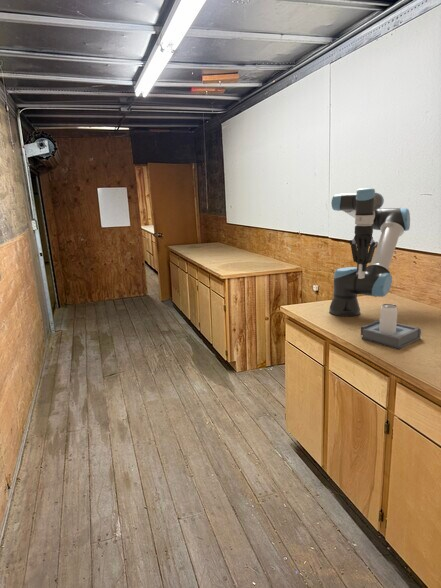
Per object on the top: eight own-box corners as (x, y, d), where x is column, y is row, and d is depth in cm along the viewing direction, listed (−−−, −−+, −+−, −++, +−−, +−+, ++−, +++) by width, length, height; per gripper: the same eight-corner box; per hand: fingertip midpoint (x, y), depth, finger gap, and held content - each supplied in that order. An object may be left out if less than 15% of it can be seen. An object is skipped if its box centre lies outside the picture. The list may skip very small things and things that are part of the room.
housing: (361, 339, 164) (362, 329, 163) (384, 329, 174) (385, 320, 173) (398, 349, 152) (399, 338, 151) (420, 338, 162) (421, 328, 161)
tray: (360, 334, 166) (361, 326, 165) (379, 327, 174) (379, 319, 174) (394, 344, 154) (395, 335, 153) (413, 335, 163) (413, 327, 162)
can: (376, 330, 167) (378, 303, 164) (392, 330, 167) (394, 303, 164) (382, 335, 161) (384, 307, 158) (398, 335, 161) (400, 307, 158)
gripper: (345, 225, 173) (343, 277, 179) (372, 226, 163) (369, 281, 169) (355, 224, 178) (353, 275, 183) (382, 224, 167) (379, 278, 173)
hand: (361, 278), depth 176 cm, fingers closed
